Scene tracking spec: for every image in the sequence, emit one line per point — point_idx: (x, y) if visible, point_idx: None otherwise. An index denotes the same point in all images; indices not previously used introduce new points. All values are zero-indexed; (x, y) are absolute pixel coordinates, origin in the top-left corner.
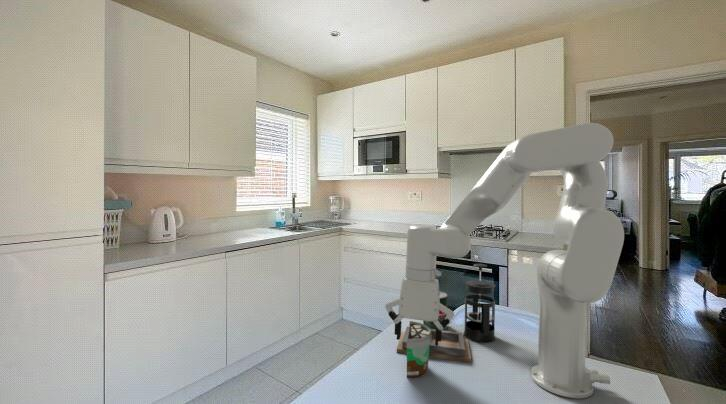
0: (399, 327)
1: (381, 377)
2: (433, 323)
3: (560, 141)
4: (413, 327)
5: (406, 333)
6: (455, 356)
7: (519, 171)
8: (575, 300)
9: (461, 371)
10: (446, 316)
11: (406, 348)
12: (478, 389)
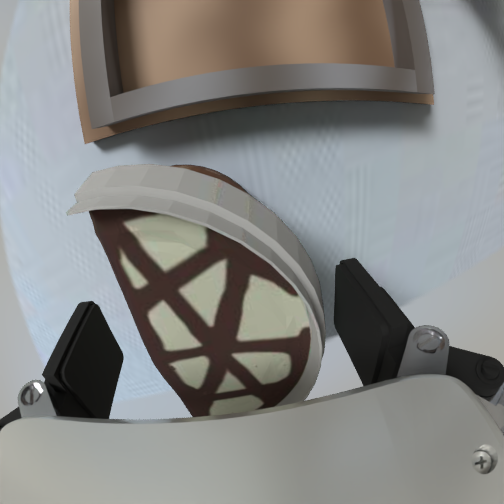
0: (106, 415)
1: (130, 329)
2: None
3: None
4: (145, 268)
5: (88, 20)
6: (379, 100)
7: None
8: None
9: (392, 183)
10: (492, 411)
11: (126, 120)
12: (421, 267)
